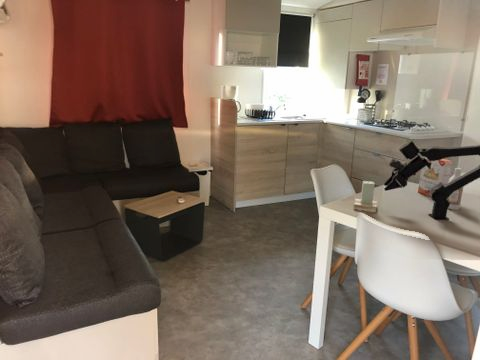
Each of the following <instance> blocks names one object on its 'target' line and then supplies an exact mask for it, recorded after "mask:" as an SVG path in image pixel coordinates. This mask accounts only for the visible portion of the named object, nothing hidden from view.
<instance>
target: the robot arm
mask: <svg viewBox="0 0 480 360" xmlns="http://www.w3.org/2000/svg"><path fill="white" fill-rule="evenodd" d="M398 151H399V152H400V154H402V156H404V158H405V159H406V160H410V161H409V162H404V163H403V162H401V161H400V160H398V159H396V158H392V159H391V160H390V162H389V163H388V164H389V166H390V167H391V168H393V169H392V170H391V175H390V177H389V178H388V179H387V180H386V181H385V182H384V184H383V186H385V187H384V188H383V189H384V191H390V190H391V191H392V190H397V189H402V188H405V187H407V186H408V180H409V179H410V178H411V177H413V176H416V174H417V173H419V172H421V169H423V168H424V167H425V166H427V167H428V168H429V169H431V164H432V163H431V162H428V161H427V160H426V159H425V158H423V157H427V159H428V160H430V161H436V160H441V159H446V158H453V157H454V158H455V157H467V156H469V157H471V156H479V157H480V144H476V145H469V146H467V145H466V146H454V147H445V146H444V147H443V146H432V145H431V146H428V147H426V148H418V147H417V146H416V144H415V143H414V141H413V140H410V141H409V142H406V143H404V144H403V145H402V146H401V147H400V148H399V149H398ZM478 179H480V164H479V165H478V166H476V167H475V168H473V169H471V170H470V171H468V172H466V173H464V174H463V175H462V174H461V176H460V177H459V178H457V179H455V180H453V181H451V182H450V183H447V184H442V182H440V183H439V184H438V185H436V186H433V188H432V189H431V190H430V196H431V197H430V196H429V197H430V198H431V199H432V201H433V203H432V210H431V213H428V216H429V217H431V218H432V219H434V220H445V221H447V220H450V218H449V217H448V216H447V213H448V210H449V209H448V207H449V205H450V203H449V201H448V200H447V198H448V197H449V196H450V195H451V194H452V193H453V192H454V191H456V190H458V189H460V188H461V187H463V186H464V187H465V186H468V185H469V184H470V183H473V182H474V181H476V180H478ZM464 187H463V188H464Z"/></svg>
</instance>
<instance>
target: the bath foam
mask: <svg viewBox="0 0 480 360" xmlns="http://www.w3.org/2000/svg"><path fill="white" fill-rule="evenodd" d="M462 171H463V168H460V167H455V168H454V174H453V175H452V177H450V178H449V182H448V183H450V182H451V181H453V180H455V179H457V178H459V177H460V176H462ZM464 187H465V186H463V187H461V188H460V189H458V190H456V191H454V192H453V193H452V194H451V195H450V196H449V197H448V198H447V200H448V201H449V203H450V205H449V207H448V209H447V210H454V211H457V210H459V209H460V207H461V202H462V195H463V191H464Z"/></svg>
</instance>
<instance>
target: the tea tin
mask: <svg viewBox="0 0 480 360" xmlns="http://www.w3.org/2000/svg"><path fill="white" fill-rule="evenodd" d="M375 184H376V183H375V182H374V181H370V180H369V181H367V180H362V185H361V186H362V187H361V193H360V199H361V200H360V201H361V204H370V205H372V201H374V194H375V193H374V192H375Z"/></svg>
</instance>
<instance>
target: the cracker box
mask: <svg viewBox="0 0 480 360" xmlns="http://www.w3.org/2000/svg"><path fill="white" fill-rule="evenodd" d="M422 158H425V159H426V160H427V161H428V162H431V163H432V164H431V169H429V168H428V167H427V166H425V167H424V168H423V169H421V170H420V175H419V176H420V177H419V183H418V189H417V193H419V194H422V195H424V196H428V197H430V198H431V196H430V190H431V189H432V188H433V186H436V185H438V184H439V183H440V182H442V184H447V183H448V182H449V180H450V179H451V171H452V165H453V160H449V159H446V158H444V159H441V160H436V161H430V160H428V159H427V157H424V156H422Z"/></svg>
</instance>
